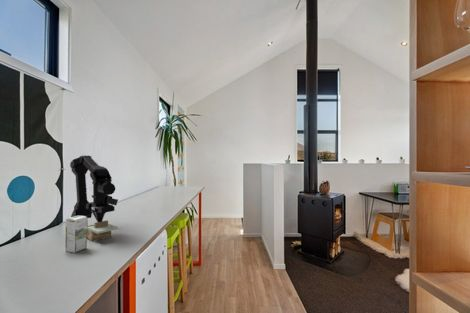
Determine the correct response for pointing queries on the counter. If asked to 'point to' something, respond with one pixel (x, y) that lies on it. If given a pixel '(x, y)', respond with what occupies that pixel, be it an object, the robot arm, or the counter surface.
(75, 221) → the syrup box
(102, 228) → the lid
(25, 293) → the counter surface
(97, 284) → the counter surface
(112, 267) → the counter surface
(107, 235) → the toolbox
